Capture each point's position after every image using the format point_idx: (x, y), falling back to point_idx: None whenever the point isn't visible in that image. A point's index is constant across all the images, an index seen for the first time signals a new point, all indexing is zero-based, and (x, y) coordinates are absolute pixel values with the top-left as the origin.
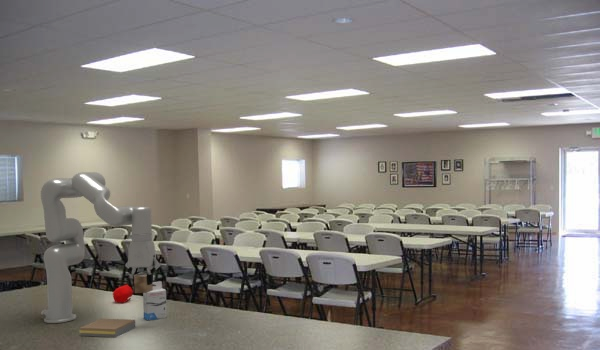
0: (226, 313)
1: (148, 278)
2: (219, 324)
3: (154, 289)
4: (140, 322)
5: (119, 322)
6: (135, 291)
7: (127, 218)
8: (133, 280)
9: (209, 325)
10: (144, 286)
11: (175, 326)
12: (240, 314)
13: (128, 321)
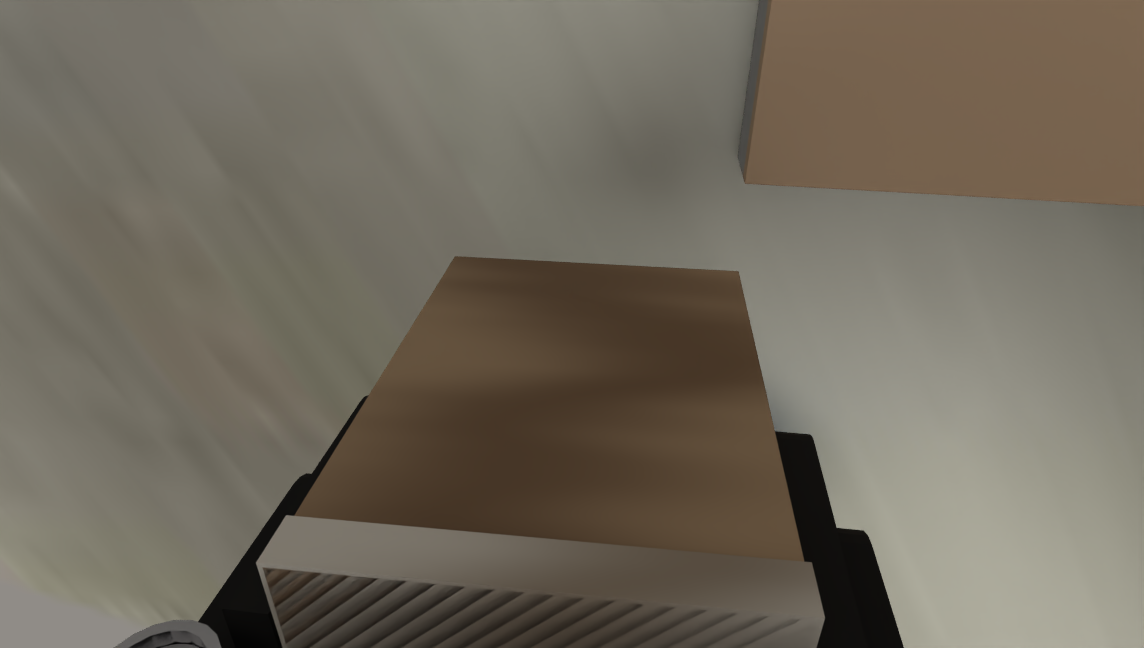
0: (192, 569)
1: (291, 512)
2: (15, 298)
3: None
4: (763, 336)
5: (913, 26)
6: (721, 286)
7: None
8: (860, 550)
9: (68, 266)
10: (455, 325)
11: (336, 217)
12: (81, 544)
13: (799, 90)
